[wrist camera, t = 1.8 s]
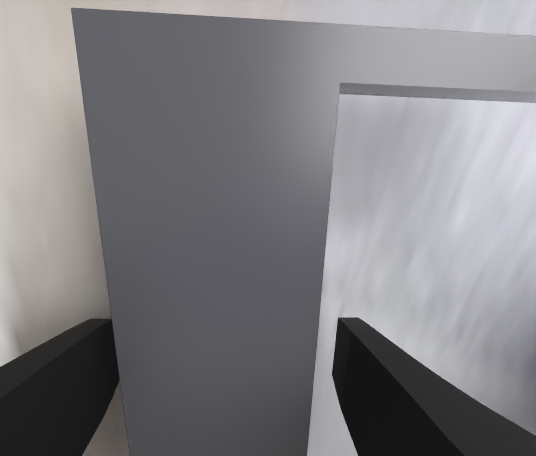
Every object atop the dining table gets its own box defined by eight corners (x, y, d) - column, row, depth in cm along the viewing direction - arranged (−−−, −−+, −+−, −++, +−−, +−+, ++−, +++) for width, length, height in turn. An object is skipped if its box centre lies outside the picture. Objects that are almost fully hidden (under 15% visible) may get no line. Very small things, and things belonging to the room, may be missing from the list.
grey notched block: (495, 95, 8) (702, 45, 5) (413, 462, 12) (487, 604, 8) (160, 80, 8) (71, 7, 4) (185, 471, 12) (152, 627, 8)
